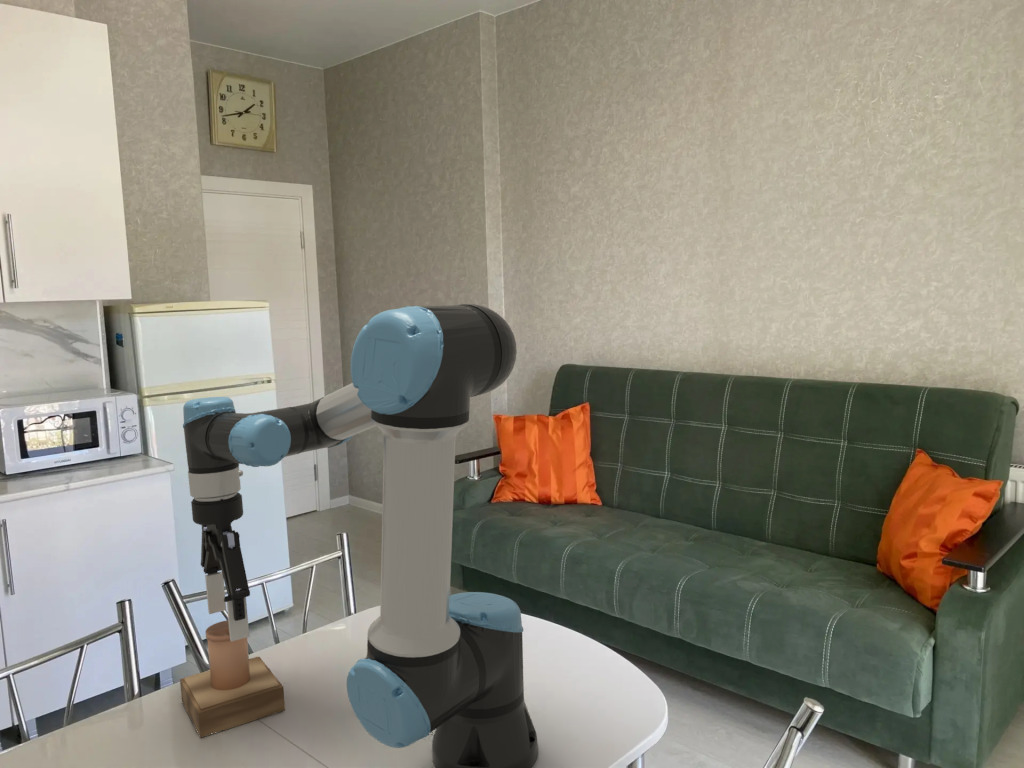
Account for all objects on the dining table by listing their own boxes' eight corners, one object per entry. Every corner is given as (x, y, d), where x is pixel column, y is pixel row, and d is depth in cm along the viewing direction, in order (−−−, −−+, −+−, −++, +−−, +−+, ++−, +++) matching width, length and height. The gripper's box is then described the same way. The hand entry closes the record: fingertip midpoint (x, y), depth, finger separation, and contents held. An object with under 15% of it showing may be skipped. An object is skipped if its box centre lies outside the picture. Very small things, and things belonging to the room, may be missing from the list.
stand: (284, 710, 125) (283, 684, 124) (200, 738, 117) (198, 711, 117) (260, 678, 135) (259, 654, 135) (182, 702, 128) (179, 677, 128)
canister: (256, 682, 125) (252, 629, 124) (215, 695, 122) (210, 640, 120) (245, 667, 130) (241, 616, 129) (205, 679, 127) (201, 626, 126)
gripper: (264, 505, 114) (275, 643, 116) (220, 478, 134) (231, 596, 137) (211, 515, 110) (224, 658, 112) (174, 486, 130) (186, 607, 133)
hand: (228, 624), depth 124 cm, fingers open, 13 cm apart
